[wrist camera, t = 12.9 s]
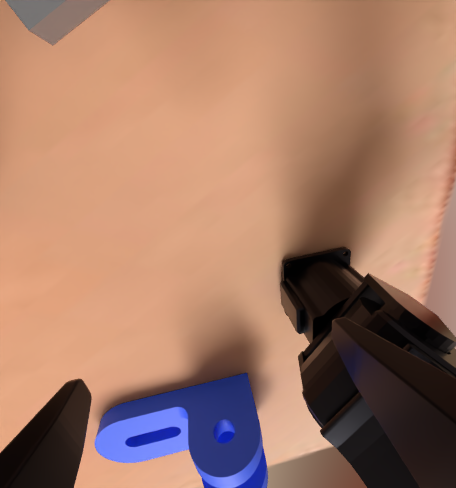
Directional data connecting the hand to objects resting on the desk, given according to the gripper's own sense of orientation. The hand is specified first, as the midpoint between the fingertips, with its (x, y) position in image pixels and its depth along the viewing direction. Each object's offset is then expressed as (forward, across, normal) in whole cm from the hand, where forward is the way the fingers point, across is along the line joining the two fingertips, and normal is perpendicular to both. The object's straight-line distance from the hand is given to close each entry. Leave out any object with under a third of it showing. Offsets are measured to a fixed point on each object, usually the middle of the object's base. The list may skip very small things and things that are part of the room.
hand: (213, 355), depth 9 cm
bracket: (+13, +7, +23) cm, 28 cm away
